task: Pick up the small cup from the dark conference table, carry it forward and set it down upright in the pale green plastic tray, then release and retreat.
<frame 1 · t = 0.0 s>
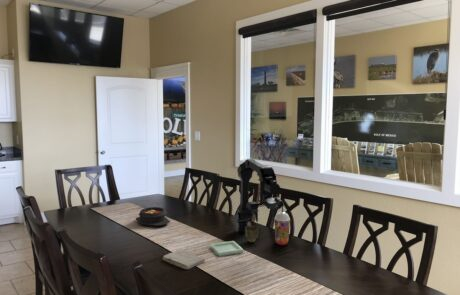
hand: (264, 220, 188), 15 cm above the table, fingers open, 9 cm apart
smoothie: (281, 243, 197), on the table
washcloth: (183, 262, 174), on the table
tray: (226, 250, 187), on the table
casserole: (152, 223, 232), on the table
cup: (251, 242, 199), on the table
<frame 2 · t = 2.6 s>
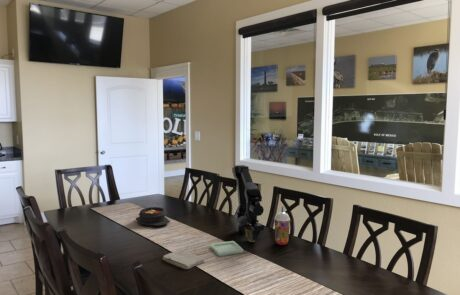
hand: (251, 238, 199), 2 cm above the table, fingers closed on cup, 6 cm apart
cup: (251, 242, 199), on the table, touching gripper
everything else where it was.
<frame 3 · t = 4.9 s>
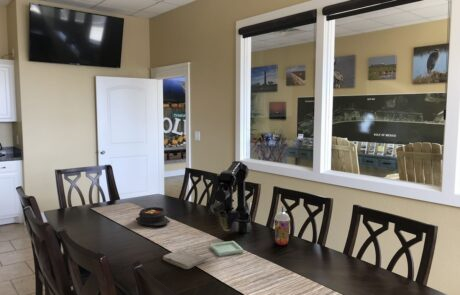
hand: (226, 227, 186), 12 cm above the table, fingers closed on cup, 6 cm apart
cup: (226, 230, 186), point 10 cm above the table, touching gripper
everything else where it was.
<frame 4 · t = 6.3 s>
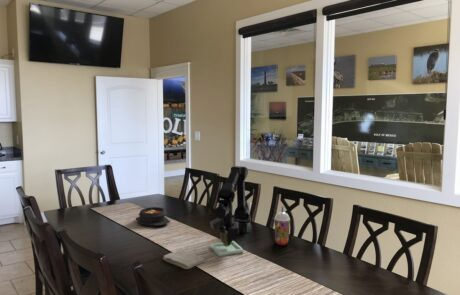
hand: (226, 242, 187), 4 cm above the table, fingers closed on cup, 6 cm apart
cup: (226, 246, 187), point 2 cm above the table, touching gripper
everything else where it was.
when the fingers open (3 cm above the table, at t = 7.3 s): cup drops 1 cm, resting on tray.
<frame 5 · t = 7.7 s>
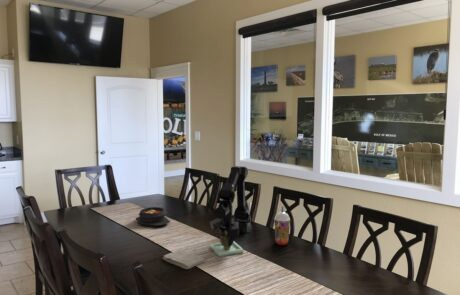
hand: (226, 243, 187), 4 cm above the table, fingers open, 9 cm apart
cup: (227, 249, 187), resting on tray
everything else where it was.
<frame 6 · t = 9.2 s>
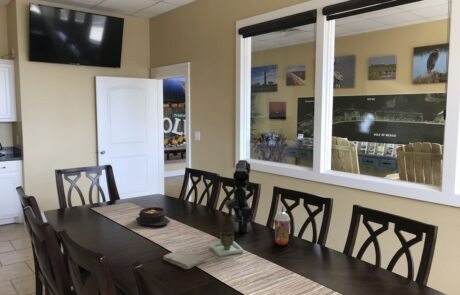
hand: (240, 222, 195), 11 cm above the table, fingers open, 9 cm apart
nothing on the table moved.
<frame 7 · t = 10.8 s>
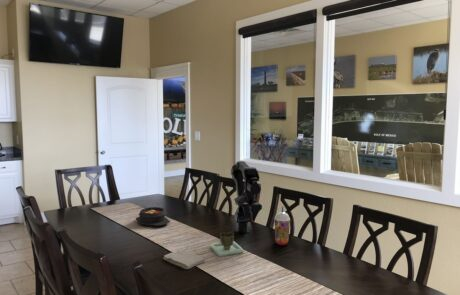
hand: (249, 218, 201), 12 cm above the table, fingers open, 9 cm apart
nothing on the table moved.
at the end: cup inside the target area on the tray (0.3 cm from its centre), point 0.4 cm above the tray's base; cup tilted 0°; the gripper is holding nothing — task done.
